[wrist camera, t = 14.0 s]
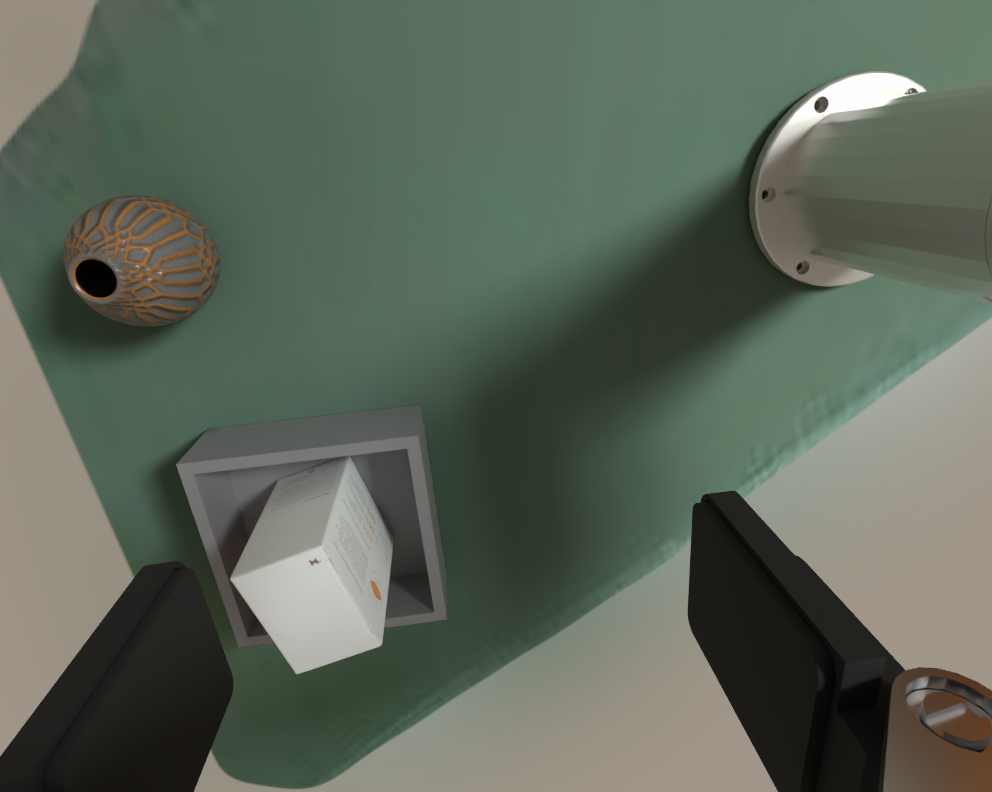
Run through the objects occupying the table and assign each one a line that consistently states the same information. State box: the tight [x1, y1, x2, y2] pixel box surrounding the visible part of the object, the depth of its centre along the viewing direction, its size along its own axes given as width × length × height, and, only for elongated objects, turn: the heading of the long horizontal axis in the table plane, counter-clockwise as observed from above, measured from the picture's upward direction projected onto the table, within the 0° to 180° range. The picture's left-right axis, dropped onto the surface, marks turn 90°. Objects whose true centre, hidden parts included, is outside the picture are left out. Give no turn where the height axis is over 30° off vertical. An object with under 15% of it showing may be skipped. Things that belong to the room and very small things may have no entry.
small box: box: [230, 456, 394, 674], centre depth 37 cm, size 8×6×10 cm
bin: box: [176, 404, 447, 648], centre depth 40 cm, size 15×15×5 cm
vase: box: [63, 196, 220, 327], centre depth 31 cm, size 7×7×9 cm
